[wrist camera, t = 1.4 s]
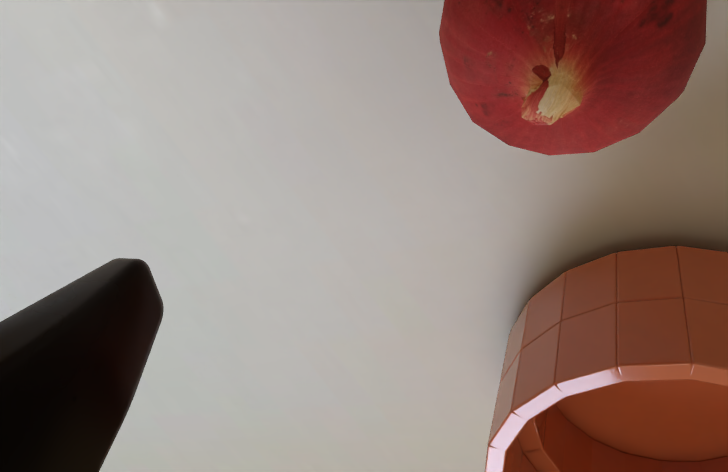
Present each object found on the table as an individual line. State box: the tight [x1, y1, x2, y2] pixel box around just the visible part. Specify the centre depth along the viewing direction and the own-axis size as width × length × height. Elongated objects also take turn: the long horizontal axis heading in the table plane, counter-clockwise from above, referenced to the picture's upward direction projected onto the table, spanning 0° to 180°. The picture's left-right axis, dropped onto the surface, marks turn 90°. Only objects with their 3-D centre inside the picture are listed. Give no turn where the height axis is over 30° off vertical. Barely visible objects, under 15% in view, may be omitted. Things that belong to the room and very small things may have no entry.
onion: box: [439, 0, 707, 155], centre depth 15 cm, size 6×6×8 cm
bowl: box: [485, 246, 728, 472], centre depth 22 cm, size 11×11×6 cm
